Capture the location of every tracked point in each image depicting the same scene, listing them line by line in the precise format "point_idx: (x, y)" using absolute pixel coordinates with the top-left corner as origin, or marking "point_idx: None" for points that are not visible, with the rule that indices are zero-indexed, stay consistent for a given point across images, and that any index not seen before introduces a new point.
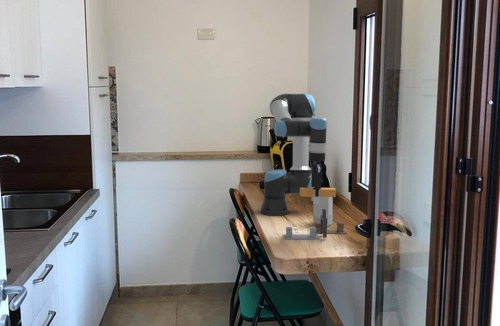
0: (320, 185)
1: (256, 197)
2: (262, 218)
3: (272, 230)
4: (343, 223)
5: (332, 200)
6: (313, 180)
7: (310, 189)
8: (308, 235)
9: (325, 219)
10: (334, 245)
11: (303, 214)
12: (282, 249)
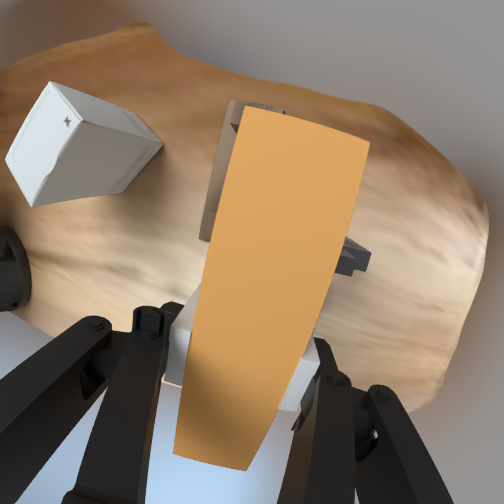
0: (405, 419)
1: None
2: (55, 329)
3: None
4: (266, 107)
5: (75, 90)
6: (151, 435)
7: (268, 427)
8: None
9: (367, 262)
10: (411, 240)
11: None
12: None
